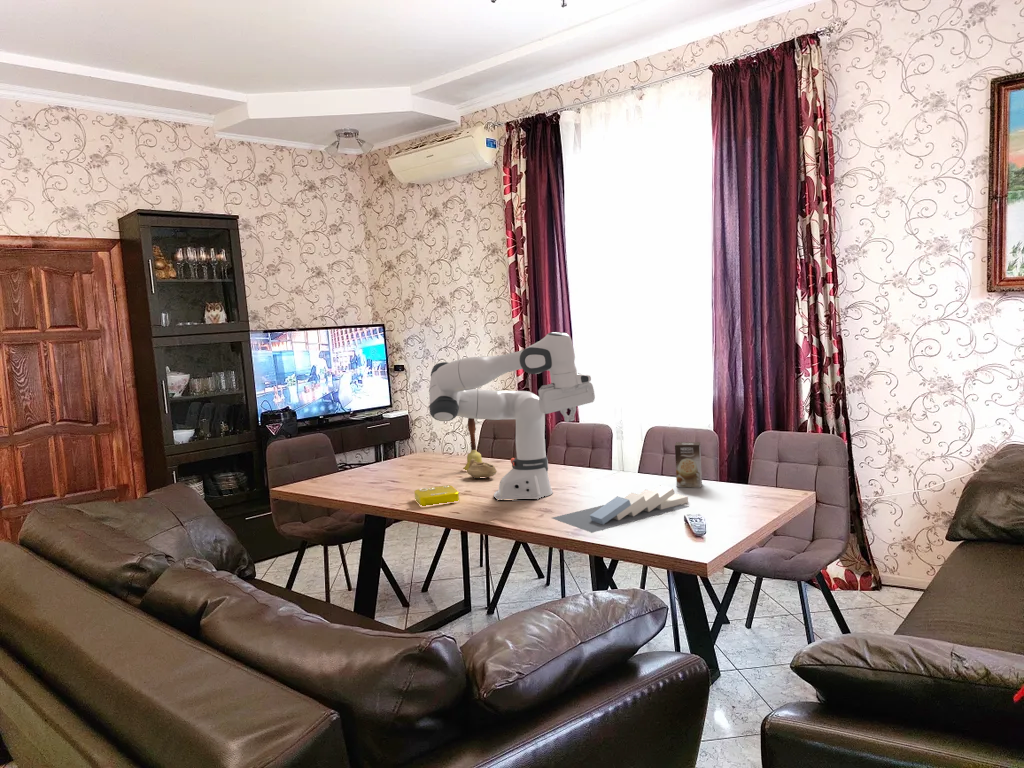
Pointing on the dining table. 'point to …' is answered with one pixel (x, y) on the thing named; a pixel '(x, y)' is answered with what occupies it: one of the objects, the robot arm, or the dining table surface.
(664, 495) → the domino
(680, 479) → the coffee box
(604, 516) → the blue domino
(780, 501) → the dining table surface
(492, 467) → the oil lamp
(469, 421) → the handbell
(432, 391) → the robot arm
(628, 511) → the domino
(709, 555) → the dining table surface
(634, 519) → the rubber mat
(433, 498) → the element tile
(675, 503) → the domino
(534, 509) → the dining table surface
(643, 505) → the domino
